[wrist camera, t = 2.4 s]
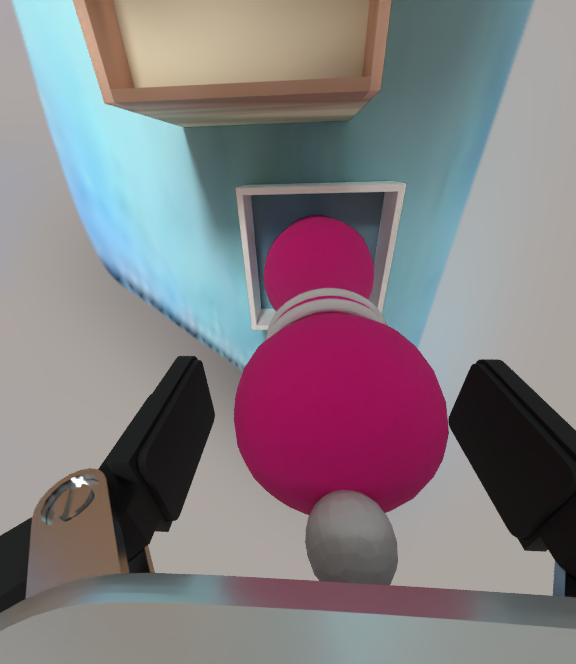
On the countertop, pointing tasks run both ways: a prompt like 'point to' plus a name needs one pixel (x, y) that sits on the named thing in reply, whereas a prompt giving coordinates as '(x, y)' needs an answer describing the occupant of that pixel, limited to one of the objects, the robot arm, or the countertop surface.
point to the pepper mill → (337, 404)
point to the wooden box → (237, 58)
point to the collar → (244, 202)
